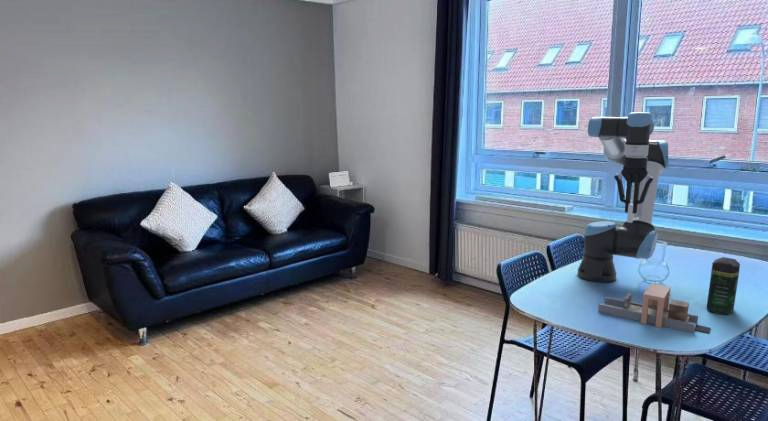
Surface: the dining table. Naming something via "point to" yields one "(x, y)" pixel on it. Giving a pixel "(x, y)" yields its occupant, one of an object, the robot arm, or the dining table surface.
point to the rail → (617, 309)
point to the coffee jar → (723, 285)
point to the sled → (676, 311)
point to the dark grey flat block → (702, 329)
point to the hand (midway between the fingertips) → (630, 221)
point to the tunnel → (655, 302)
